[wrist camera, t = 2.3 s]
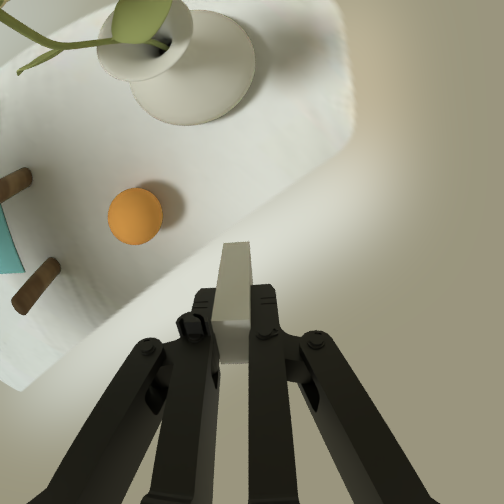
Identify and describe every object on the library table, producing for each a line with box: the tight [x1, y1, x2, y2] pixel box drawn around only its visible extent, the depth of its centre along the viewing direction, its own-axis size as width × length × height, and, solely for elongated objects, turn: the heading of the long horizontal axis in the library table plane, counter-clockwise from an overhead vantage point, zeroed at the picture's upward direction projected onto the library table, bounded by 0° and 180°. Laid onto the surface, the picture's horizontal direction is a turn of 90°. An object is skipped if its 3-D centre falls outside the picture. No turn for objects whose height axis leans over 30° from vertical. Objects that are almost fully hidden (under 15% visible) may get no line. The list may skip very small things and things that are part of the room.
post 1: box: [0, 167, 32, 204], centre depth 21 cm, size 3×3×9 cm
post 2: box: [11, 257, 61, 315], centre depth 28 cm, size 3×3×9 cm
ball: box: [108, 188, 163, 245], centre depth 26 cm, size 6×6×6 cm
